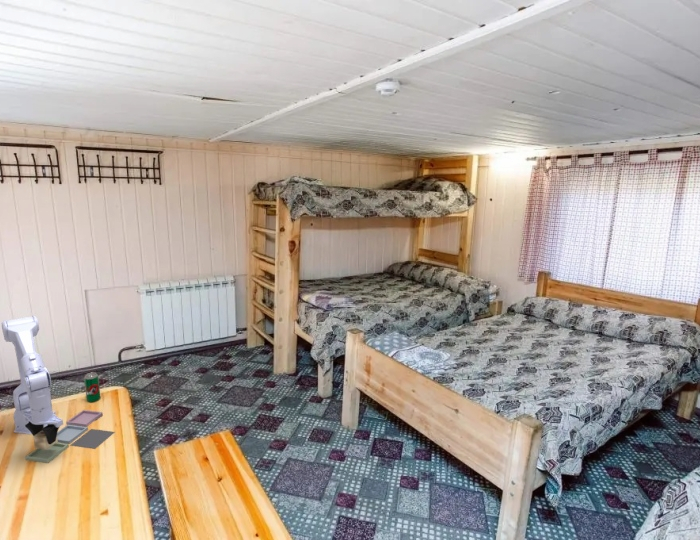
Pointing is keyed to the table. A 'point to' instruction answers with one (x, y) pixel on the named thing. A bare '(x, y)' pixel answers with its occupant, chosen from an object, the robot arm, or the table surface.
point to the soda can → (92, 387)
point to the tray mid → (70, 433)
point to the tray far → (84, 418)
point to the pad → (92, 439)
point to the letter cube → (42, 441)
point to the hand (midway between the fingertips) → (46, 441)
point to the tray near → (47, 453)
